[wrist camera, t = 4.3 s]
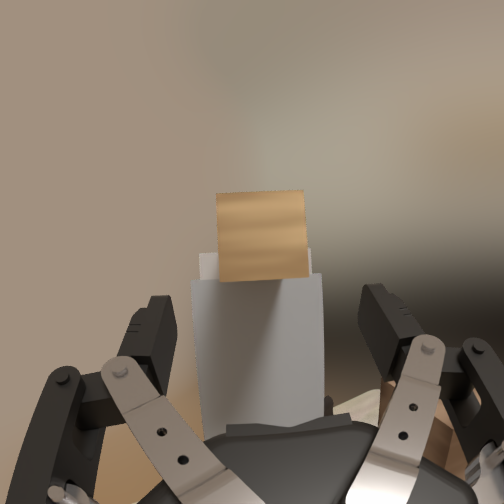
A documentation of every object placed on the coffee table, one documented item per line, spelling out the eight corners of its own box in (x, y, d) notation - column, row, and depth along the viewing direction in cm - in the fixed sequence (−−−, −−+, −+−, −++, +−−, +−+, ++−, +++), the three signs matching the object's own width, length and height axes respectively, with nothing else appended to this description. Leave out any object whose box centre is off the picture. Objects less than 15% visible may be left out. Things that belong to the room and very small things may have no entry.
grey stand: (228, 494, 36) (209, 261, 38) (297, 489, 36) (292, 256, 38) (224, 560, 22) (189, 253, 24) (314, 553, 22) (319, 247, 24)
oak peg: (235, 276, 40) (233, 244, 40) (267, 274, 40) (265, 242, 40) (219, 282, 14) (216, 193, 14) (309, 277, 14) (303, 190, 15)
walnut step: (360, 533, 24) (381, 377, 26) (431, 510, 25) (463, 358, 26) (392, 597, 12) (453, 429, 14) (474, 559, 13) (543, 386, 14)
